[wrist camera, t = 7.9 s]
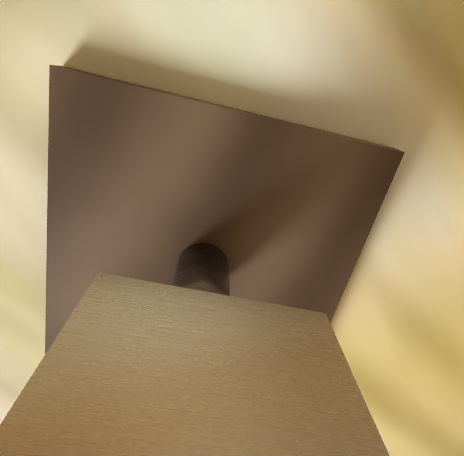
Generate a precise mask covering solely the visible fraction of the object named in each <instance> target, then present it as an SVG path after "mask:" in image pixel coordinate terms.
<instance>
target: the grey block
mask: <svg viewBox="0 0 464 456" xmlns="http://www.w3.org/2000/svg"><path fill="white" fill-rule="evenodd" d="M0 456H389V454H388V452H387V449H386V447H385V445H384V443H383V440H382V438H381V436H380V434H379V432H378V429H377V427H376V425H375V423H374V420H373V418H372V416H371V414H370V411H369V409H368V407H367V405H366V403H365V400H364V398H363V396H362V394H361V391H360V389H359V387H358V385H357V382H356V380H355V378H354V376H353V374H352V371H351V369H350V367H349V365H348V362H347V360H346V358H345V356H344V353H343V351H342V349H341V347H340V345H339V342H338V340H337V338H336V336H335V333H334V331H333V329H332V327H331V324H330V322H329V320H328V318H327V316H326V313H322V312H316V311H311V310H305V309H300V308H294V307H289V306H283V305H278V304H272V303H267V302H261V301H255V300H250V299H244V298H239V297H233V296H228V295H222V294H217V293H211V292H205V291H200V290H194V289H189V288H183V287H178V286H172V285H167V284H161V283H155V282H150V281H144V280H139V279H133V278H128V277H122V276H117V275H111V274H105V273H100V272H98V274H97V275H96V277H95V278H94V280H93V281H92V283H91V284H90V286H89V288H88V289H87V291H86V292H85V294H84V295H83V297H82V298H81V300H80V302H79V303H78V305H77V306H76V308H75V309H74V311H73V312H72V314H71V316H70V317H69V319H68V320H67V322H66V323H65V325H64V326H63V328H62V330H61V331H60V333H59V334H58V336H57V337H56V339H55V340H54V342H53V344H52V345H51V347H50V348H49V350H48V351H47V353H46V354H45V356H44V358H43V359H42V361H41V362H40V364H39V365H38V367H37V368H36V370H35V372H34V373H33V375H32V376H31V378H30V379H29V381H28V382H27V384H26V386H25V387H24V389H23V390H22V392H21V393H20V395H19V396H18V398H17V400H16V401H15V403H14V404H13V406H12V407H11V409H10V410H9V412H8V414H7V415H6V417H5V418H4V420H3V421H2V423H1V424H0Z"/></svg>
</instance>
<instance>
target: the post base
mask: <svg viewBox="0 0 464 456" xmlns="http://www.w3.org/2000/svg"><path fill="white" fill-rule="evenodd" d="M403 155H404V152H402V151H400V150H397V149H395V148H391V147H387V146H383V145H379V144H375V143H371V142H367V141H363V140H359V139H355V138H351V137H347V136H343V135H339V134H335V133H331V132H327V131H323V130H319V129H314V128H310V127H306V126H302V125H298V124H294V123H290V122H286V121H282V120H278V119H274V118H270V117H266V116H262V115H258V114H254V113H250V112H246V111H242V110H238V109H233V108H229V107H225V106H221V105H217V104H213V103H209V102H205V101H201V100H197V99H193V98H189V97H185V96H181V95H177V94H173V93H169V92H165V91H161V90H157V89H152V88H148V87H144V86H140V85H136V84H132V83H128V82H124V81H120V80H116V79H112V78H108V77H104V76H100V75H96V74H92V73H88V72H84V71H80V70H76V69H71V68H67V67H63V66H55V65H50V77H49V142H48V206H47V271H46V335H45V354H46V353H47V351H48V350H49V348H50V347H51V345H52V344H53V342H54V340H55V339H56V337H57V336H58V334H59V333H60V331H61V330H62V328H63V326H64V325H65V323H66V322H67V320H68V319H69V317H70V316H71V314H72V312H73V311H74V309H75V308H76V306H77V305H78V303H79V302H80V300H81V298H82V297H83V295H84V294H85V292H86V291H87V289H88V288H89V286H90V284H91V283H92V281H93V280H94V278H95V277H96V275H97V274H98V272H100V273H105V274H111V275H117V276H122V277H128V278H133V279H139V280H144V281H150V282H155V283H161V284H167V285H172V286H178V287H183V288H189V289H194V290H200V291H205V292H211V293H217V294H222V295H228V296H233V297H239V298H244V299H250V300H255V301H261V302H267V303H272V304H278V305H283V306H289V307H294V308H300V309H305V310H311V311H316V312H322V313H326V316H327V318H328V320H329V322H331V319H332V317H333V315H334V312H335V310H336V308H337V306H338V303H339V301H340V299H341V296H342V294H343V292H344V290H345V287H346V285H347V283H348V280H349V278H350V276H351V274H352V271H353V269H354V267H355V264H356V262H357V260H358V258H359V255H360V253H361V251H362V248H363V246H364V244H365V242H366V239H367V237H368V235H369V232H370V230H371V228H372V226H373V223H374V221H375V219H376V216H377V214H378V212H379V210H380V207H381V205H382V203H383V200H384V198H385V196H386V194H387V191H388V189H389V187H390V184H391V182H392V180H393V178H394V175H395V173H396V171H397V168H398V166H399V164H400V162H401V159H402V157H403Z"/></svg>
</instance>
